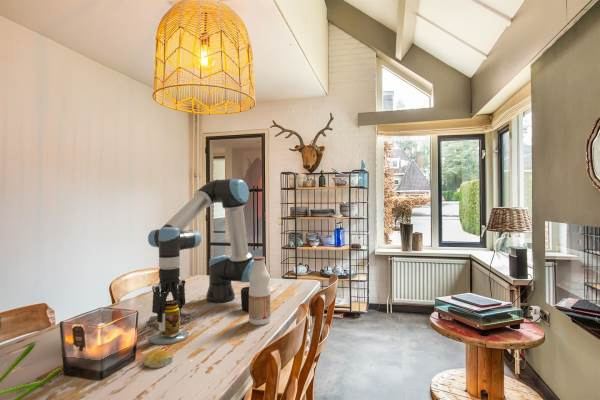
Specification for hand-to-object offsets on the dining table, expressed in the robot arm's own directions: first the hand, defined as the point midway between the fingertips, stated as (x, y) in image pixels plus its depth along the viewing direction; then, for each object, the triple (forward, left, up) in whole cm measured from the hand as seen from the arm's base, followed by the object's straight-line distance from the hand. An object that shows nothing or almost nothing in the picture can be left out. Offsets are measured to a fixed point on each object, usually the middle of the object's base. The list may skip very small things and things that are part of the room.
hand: (169, 327), depth 134 cm
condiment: (0, 0, -2) cm, 2 cm away
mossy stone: (+1, +21, -4) cm, 22 cm away
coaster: (0, 0, -4) cm, 4 cm away
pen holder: (-34, -28, -4) cm, 44 cm away
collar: (+2, -20, -4) cm, 20 cm away
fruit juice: (-36, -9, -4) cm, 37 cm away
